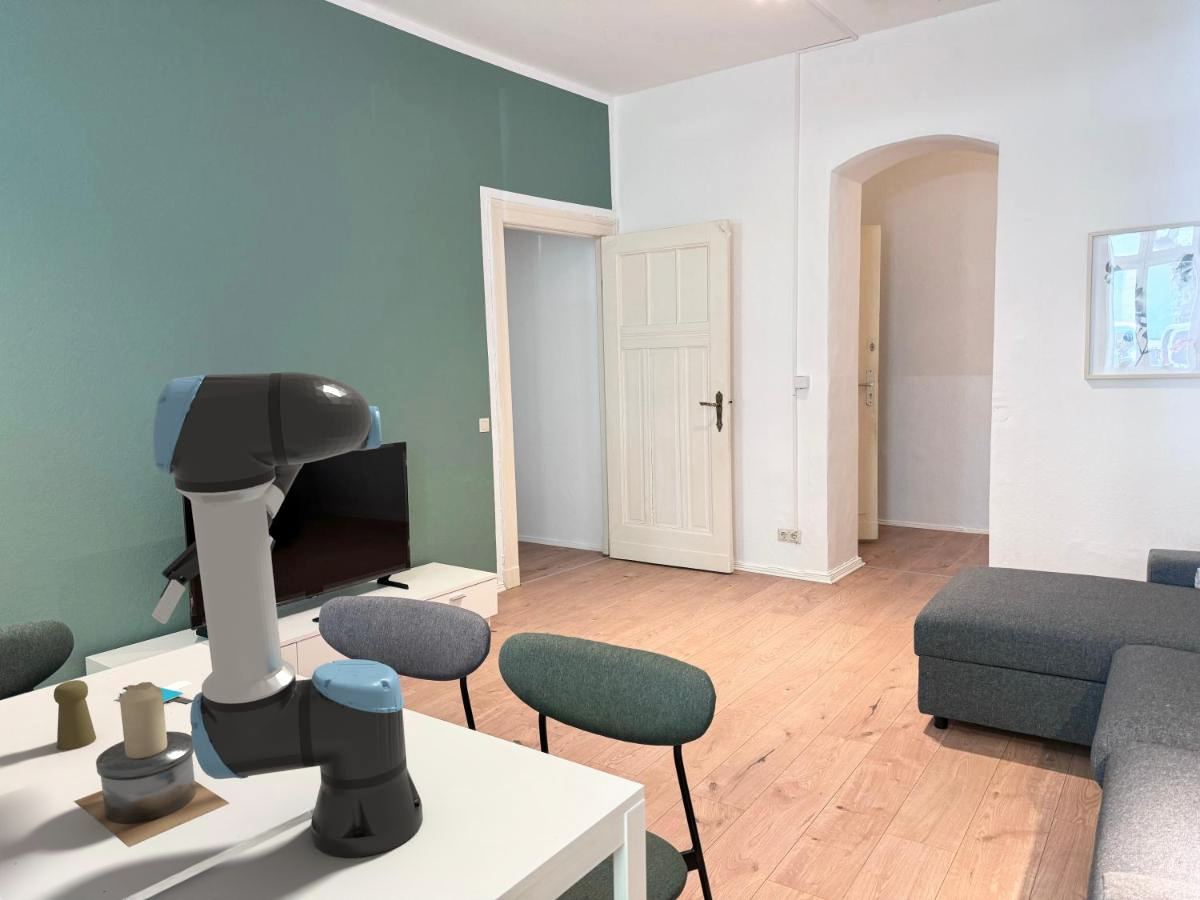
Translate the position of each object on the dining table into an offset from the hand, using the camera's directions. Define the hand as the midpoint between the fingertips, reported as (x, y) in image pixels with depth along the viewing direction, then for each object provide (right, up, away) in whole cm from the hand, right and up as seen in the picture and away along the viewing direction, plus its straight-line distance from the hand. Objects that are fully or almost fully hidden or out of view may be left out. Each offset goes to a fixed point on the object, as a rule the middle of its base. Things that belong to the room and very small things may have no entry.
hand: (191, 623), depth 135 cm
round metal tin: (-3, -25, -7) cm, 26 cm away
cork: (-29, -25, +18) cm, 42 cm away
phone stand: (-25, -23, +40) cm, 52 cm away
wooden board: (-3, -27, -7) cm, 28 cm away
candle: (-3, -17, -8) cm, 19 cm away
